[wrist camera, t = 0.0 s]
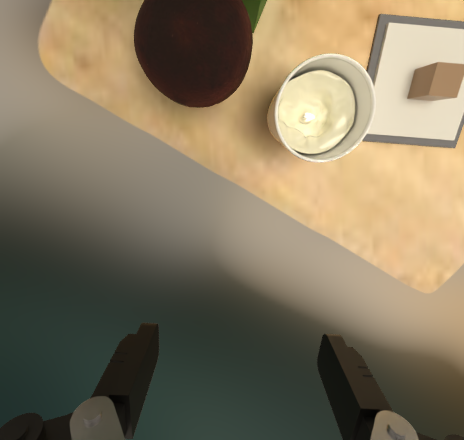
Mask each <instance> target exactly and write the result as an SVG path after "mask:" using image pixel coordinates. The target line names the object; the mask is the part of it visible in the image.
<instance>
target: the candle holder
mask: <svg viewBox="0 0 464 440" xmlns="http://www.w3.org/2000/svg"><path fill="white" fill-rule="evenodd" d="M375 109H376V94H375V89H374V85H373V82H372V80H371V78H370V76H369V74H368V73H367V71H366V70H365V69H364V68H363V66H362V65H360V64H359V63H358V62H357V61H355V60H354V59H352V58H350V57H348V56H345V55H341V54H334V53H329V54H321V55H317V56H314V57H312V58H309V59H307V60H306V61H304V62H302V63H301V64H300V65H298V66H297V67H296V68H295V69H294V70H293V71H292V72H291V73H290V74H289V75H288V76H287V78H286V79H285V81H284V82H283V84H282V86H281V87H280V89H279V90H278V92H277V93H276V94H275V96H274V97H273V99H272V101H271V103H270V105H269V108H268V113H267V123H268V127H269V130H270V133H271V134H272V136H273V137H274V138H275V140H276V141H277V142H279V143H280V144H281V145H283V146H284V147H285V148H287V149H288V150H289V151H290V152H291V153H292V154H294V155H295V156H297V157H299V158H301V159H303V160H306V161H310V162H329V161H333V160H336V159H338V158H341V157H343V156H345V155H346V154H348V153H349V152H351V151H352V150H353V149H354V148H356V147H357V146H358V145H359V143H360V142H361V141H362V140H363V139H364V137H365V136H366V134H367V132H368V131H369V129H370V127H371V124H372V122H373V118H374V114H375Z"/></svg>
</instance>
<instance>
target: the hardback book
mask: <svg viewBox="0 0 464 440" xmlns="http://www.w3.org/2000/svg"><path fill="white" fill-rule="evenodd" d="M242 1H243V3H244V5H245V7H246V9H247V12H248V14H249V18H250V21H251V27H252V33H254V30H255V28H256V26H257V23H258V21H259V18H260V16H261V13H262V11H263V9H264V6H265V4H266V1H267V0H242Z"/></svg>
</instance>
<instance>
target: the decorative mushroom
mask: <svg viewBox="0 0 464 440" xmlns="http://www.w3.org/2000/svg"><path fill="white" fill-rule="evenodd" d="M252 43H253V40H252V27H251V21H250V18H249V14H248V12H247V9H246V7H245V5H244V3H243V1H242V0H145V1H144V2H143V4H142V6H141V8H140V10H139V13H138V16H137V19H136V23H135V30H134V45H135V51H136V55H137V58H138V61H139V63H140V65H141V67H142V69H143V71H144V72H145V74H146V76H147V77H148V78H149V80H150V81H151V82H152V84H153V85H154V86H155V87H156V88H157V89H158V90H159V91H160V92H161V93H163V94H164V95H165V96H167V97H168V98H170V99H171V100H173V101H174V102H176V103H178V104H181V105H184V106H188V107H197V108H200V107H209V106H212V105H215V104H218V103H220V102H222V101H224V100H225V99H227V98H228V97H229V96H230V95H232V94H233V93H234V92H235V91H236V90H237V88H238V87H239V86H240V84H241V83H242V81H243V79H244V77H245V75H246V72H247V70H248V66H249V63H250V58H251V52H252Z"/></svg>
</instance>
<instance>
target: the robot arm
mask: <svg viewBox="0 0 464 440" xmlns="http://www.w3.org/2000/svg"><path fill="white" fill-rule="evenodd" d="M158 355H159V326H158V324H155V323H142V324H141V325H140V328H139V330H138V332H137V334H128V335H127V336H126V337H125V338H124V339H123V340H122V341H121V342H120V343H119V345H118V347H117V349H116V350H115V353H114V354H113V356H112V358H111V360H110V363H109V364H108V366H107V368H106V370H105V372H104V373H103V375H102V377H101V379H100V381H99V383H98V385H97V387H96V389H95V391H94V393H93V395H92V396H91V398H90V399H88V400H86V401H85V402H83V403H82V404H81V405H80V406H79V407H78V408H77V409H76V410H75V411H74V412H73V413H70V414H68V415H65V416H61V417H58V418H54V419H51V420H47V421H43V419H42V417H41V416H40V415H38V414H36V413H26V414H22V415H20V416H17V417H15V418H13V419H12V420H10V421H9V422H7V423H6V424H5V425H3V426H2V427H1V428H0V440H125V439H133V436H134V433H135V430H136V427H137V424H138V421H139V417H140V414H141V411H142V408H143V405H144V402H145V399H146V395H147V392H148V389H149V386H150V383H151V380H152V377H153V373H154V370H155V367H156V364H157V360H158ZM317 366H318V371H319V374H320V377H321V380H322V383H323V386H324V388H325V391H326V394H327V397H328V400H329V402H330V405H331V408H332V411H333V414H334V416H335V419H336V422H337V424H338V427H339V430H340V433H341V436H342V438H343V440H436V439H433V438H430V437H428V436H425V435H422V434H420V433H417V432H415V430H414V429H413V427H412V426H411V425H410V424H409V423H408V422H407V421H406V420H405V419H404V418H402V417H401V416H400V415H398V414H396V413H394V412H393V410H392V408H391V407H390V405H389V403H388V402H387V400H386V398H385V396H384V394H383V393H382V391H381V389H380V387H379V386H378V384H377V382H376V381H375V379H374V378H373V375H372V374H371V372H370V370H369V369H368V367H367V365H366V363H365V361H364V359H363V358H362V356H361V355H360V354H359V353H358V352H357V351H356V350H355V349H354V348H353V347H347V346H346V344H345V342H344V340H343V338H342V337H341V335H334V334H333V335H332V334H324V335H323V337H322V341H321V345H320V349H319V353H318V358H317ZM444 440H464V437H462V436H459V435H448V436H446V438H445V439H444Z"/></svg>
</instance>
